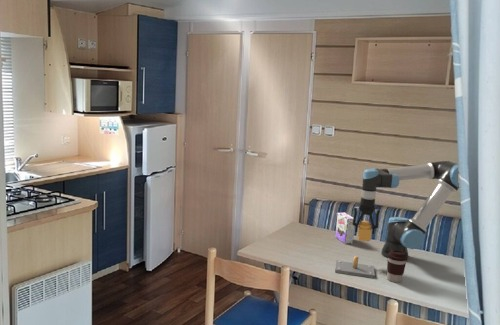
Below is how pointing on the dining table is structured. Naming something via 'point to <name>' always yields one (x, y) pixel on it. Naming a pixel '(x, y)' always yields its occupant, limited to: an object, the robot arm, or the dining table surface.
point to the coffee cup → (396, 265)
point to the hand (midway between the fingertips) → (363, 238)
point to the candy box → (344, 228)
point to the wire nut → (364, 231)
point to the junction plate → (355, 268)
